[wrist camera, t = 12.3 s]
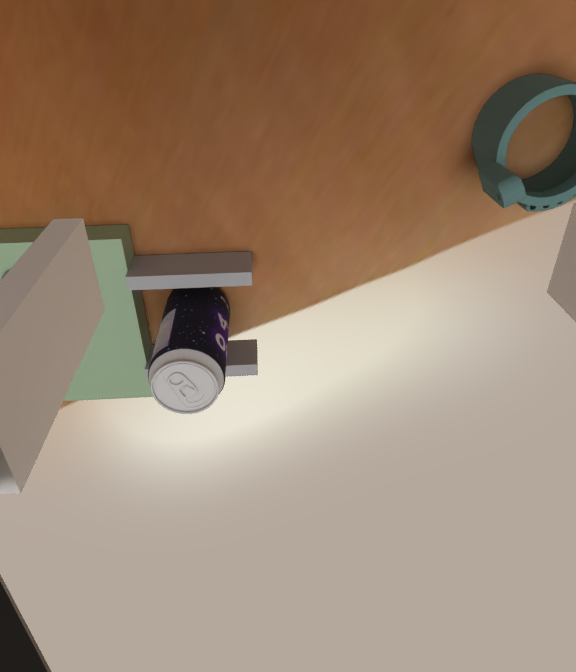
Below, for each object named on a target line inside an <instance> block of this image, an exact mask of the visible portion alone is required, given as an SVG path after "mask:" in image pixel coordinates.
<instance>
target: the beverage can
mask: <svg viewBox="0 0 576 672" xmlns="http://www.w3.org/2000/svg"><path fill="white" fill-rule="evenodd" d="M229 316H230V308H229V304H228V301H227V299H226V298H225V296H224V295H223V294H222V293H221V292H220V291H219V290H218V289H216V288H214V287H201V288H177V289H175V290H174V291H173V292H172V293H171V295H170V296H169V298H168V300H167V303H166V307H165V311H164V314H163V318H162V322H161V325H160V329H159V333H158V336H157V340H156V344H155V347H154V351H153V355H152V358H151V362H150V366H149V370H148V380H149V383H150V386H151V392H152V394H153V397H154V398H155V400H156V401H157V402H158V403H159V404H160V405H162V406H163V407H164V408H166V409H168V410H170V411H173V412H176V413H181V414H192V413H198V412H201V411H203V410H205V409H207V408H209V407H210V406H211V405H212V404H213V403H214V401H215V400H216V399H217V397H218V395H219V394H220V392H221V391H222V389H223V387H224V383H225V373H226V359H227V345H228V330H229Z"/></svg>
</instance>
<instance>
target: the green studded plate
mask: <svg viewBox="0 0 576 672" xmlns="http://www.w3.org/2000/svg"><path fill="white" fill-rule="evenodd" d="M45 228H46V227H44V228H16V229H0V281H1V280H2V279H3V277H4V276H5V275H6V274H7V273H8V272H9V270H10V269H11V268H12V267H13V266H14V265H15V263H16V262H17V261H18V260H19V259H20V258H21V256H22V255H23V254H24V253H25V252H26V250H27V249H28V248H29V247H30V246H31V245H32V243H33V242H34V241H35V240H36V239H37V238H38V236H39V235H40V234H41V233H42V232H43V231H44V229H45ZM85 229H86V233H87V237H88V241H89V245H90V249H91V254H92V258H93V262H94V266H95V270H96V274H97V279H98V283H99V287H100V291H101V295H102V299H103V304H104V308H105V310H104V312H103V314H102V316H101V319H100V321H99V323H98V325H97V327H96V330H95V332H94V334H93V336H92V338H91V340H90V343H89V345H88V347H87V349H86V351H85V354H84V356H83V358H82V360H81V362H80V365H79V367H78V369H77V371H76V373H75V376H74V378H73V380H72V382H71V384H70V387H69V389H68V391H67V393H66V395H65V397H64V400H63V401H74V400H95V399H115V398H137V397H153V394H152V392H151V386H150V383H149V380H148V370H149V366H150V362H151V358H152V355H153V351H154V347H155V344H152V343H151V338H150V333H149V327H148V322H147V317H146V312H145V307H144V302H143V296H142V291H141V290H151V289H176V288H201V287H226V286H251V285H252V251H245V252H218V253H192V254H165V255H138V256H135V255H134V250H133V245H132V240H131V234H130V229H129V225H102V226H85ZM257 374H258V371H257V340H235V341H234V340H233V341H228V345H227V359H226V373H225V376H246V375H257Z"/></svg>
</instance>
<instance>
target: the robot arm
mask: <svg viewBox="0 0 576 672" xmlns="http://www.w3.org/2000/svg"><path fill="white" fill-rule="evenodd" d="M547 293H548V294H549V295H550V296H551V297H552V298H553V299H554V300H555V301H556V302H557V303H558V304H559V305H560V306H561V307H562V308H563V309H564V310H565V311H566V312H567V313H568V314H569V316H571V318H572V319H573V320H574V321H575V322H576V203H574V204H573V207H572V211H571V214H570V217H569V221H568V224H567V228H566V231H565V234H564V237H563V241H562V244H561V247H560V251H559V254H558V257H557V261H556V264H555V267H554V271H553V274H552V277H551V280H550V284H549V287H548V291H547ZM104 310H105V308H104V304H103V299H102V295H101V291H100V287H99V283H98V279H97V274H96V270H95V266H94V262H93V258H92V254H91V249H90V245H89V241H88V237H87V233H86V229H85V225H84V220H83V218H76V219H53V220H52V221H51V222H50V224H49V225H48V226H47V227H46V228H45V229H44V231H43V232H42V233H41V234H40V235H39V236H38V238H37V239H36V240H35V241H34V242H33V243H32V245H31V246H30V247H29V248H28V249H27V250H26V252H25V253H24V254H23V255H22V256H21V258H20V259H19V260H18V261H17V262H16V263H15V265H14V266H13V267H12V268H11V269H10V270H9V272H8V273H7V274H6V275H5V276H4V277H3V279H2V280H1V281H0V494H13V493H21V492H22V490H23V487H24V485H25V483H26V481H27V479H28V476H29V474H30V472H31V470H32V468H33V465H34V463H35V461H36V459H37V457H38V454H39V452H40V450H41V448H42V446H43V443H44V441H45V439H46V437H47V435H48V432H49V430H50V428H51V426H52V424H53V422H54V419H55V417H56V415H57V413H58V411H59V408H60V406H61V404H62V402H63V400H64V397H65V395H66V393H67V391H68V389H69V387H70V384H71V382H72V380H73V378H74V376H75V373H76V371H77V369H78V367H79V365H80V362H81V360H82V358H83V356H84V354H85V351H86V349H87V347H88V345H89V343H90V340H91V338H92V336H93V334H94V332H95V330H96V327H97V325H98V323H99V321H100V319H101V316H102V314H103V312H104ZM0 672H51V670H50V668H49V666H48V664H47V663H46V661H45V659H44V657H43V655H42V653H41V651H40V649H39V647H38V645H37V643H36V642H35V640H34V638H33V636H32V634H31V632H30V630H29V628H28V626H27V624H26V623H25V621H24V619H23V617H22V615H21V613H20V612H19V609H18V608H17V606H16V604H15V602H14V600H13V598H12V596H11V594H10V592H9V590H8V588H7V587H6V585H5V583H4V581H3V579H2V577H1V575H0Z"/></svg>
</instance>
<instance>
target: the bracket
mask: <svg viewBox="0 0 576 672" xmlns="http://www.w3.org/2000/svg"><path fill="white" fill-rule="evenodd" d="M562 95H569V97H570V99H571V101H572V105H573V109H574V122H573V129H572V132H571V135H570V138H569V140H568V142H567V144H566V146H565V148H564V149H563V151H562V153H561V154H560V155H559V156H558V158H557V159H556V160H555V161H554V162H553V163H552V164H551V165H550V166H548V167H547V168H546V169H545V170H543V171H542V172H540V173H538V174H537V175H534V176H532V177H530V178H527V179H523V180H521V179H520V178H519V177H518V176H516V175H515V174H514V173H512V172H511V171H509V170H508V169H507V168H506V152H507V147H508V144H509V141H510V139H511V136H512V134H513V132H514V131H515V129H516V127H517V126H518V124H519V123H520V122H521V121H522V119H523V118H524V117H525V116H526V115H527V114H528V113H529V112H530V111H531V110H533V109H534V108H535V107H537V106H538V105H540V104H541V103H543V102H545V101H547V100H549V99H551V98H554V97H558V96H562ZM471 145H472V149H473V153H474V156H475V160H476V164H477V167H478V168H479V171H478V173H479V176H480V180H481V184H482V188H483V191H484V192H485V193H486V194H488V195H489V196H490V197H491V198H492V199H493V200H494V201H496V202H497V203H498V204H499V205H500V206H501V207H502V208H506V207H508V206H510V205H512V204H515V203H517V204H519V205H520V206H521V207H522V208H524V209H525V210H526V211H531V212H535V211H545V210H549V209H553V208H555V207H558V206H561V205H563V204H565V203H567V202H568V201H570V200H572V199H573V198H575V197H576V82H572V81H569V80H565V79H562V78H558V77H555V76H551V75H548V74H530V75H525V76H522V77H519V78H517V79H515V80H513V81H510V82H508V83H507V84H506V85H504V86H503V87H501V88H500V89H499V90H498V91H497V92H496V93H494V94H493V95H492V96H491V97H490V99H489V100H488V101H487V102H486V104H485V105H484V106H483V108H482V110H481V112H480V113H479V115H478V117H477V120H476V122H475V125H474V129H473V133H472V143H471Z"/></svg>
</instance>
